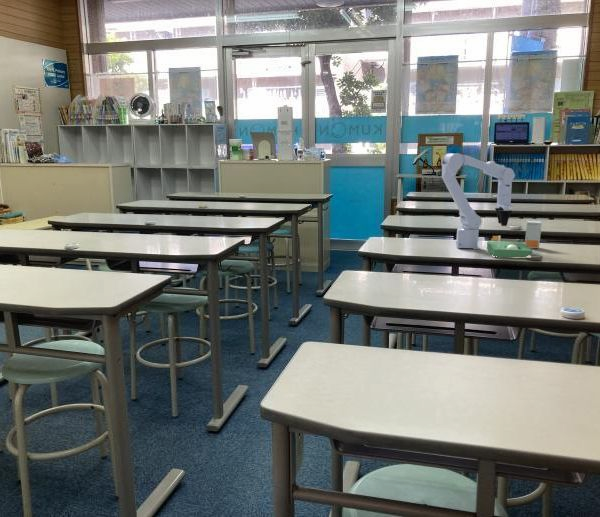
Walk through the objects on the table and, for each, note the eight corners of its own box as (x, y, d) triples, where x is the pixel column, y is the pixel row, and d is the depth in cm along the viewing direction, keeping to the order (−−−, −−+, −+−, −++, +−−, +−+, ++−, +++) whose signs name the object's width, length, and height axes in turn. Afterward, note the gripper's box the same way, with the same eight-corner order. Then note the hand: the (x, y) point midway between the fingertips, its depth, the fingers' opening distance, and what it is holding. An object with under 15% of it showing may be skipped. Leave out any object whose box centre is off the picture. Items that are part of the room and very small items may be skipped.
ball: (507, 245, 224) (509, 240, 228) (502, 255, 227) (505, 250, 230) (519, 250, 222) (521, 245, 226) (514, 260, 225) (516, 255, 229)
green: (491, 257, 224) (493, 236, 222) (485, 248, 243) (486, 228, 242) (531, 259, 221) (533, 237, 219) (521, 249, 240) (523, 229, 239)
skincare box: (524, 248, 245) (526, 221, 242) (525, 246, 248) (527, 220, 246) (538, 249, 242) (541, 222, 239) (539, 247, 246) (541, 221, 243)
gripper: (516, 196, 234) (514, 227, 237) (510, 193, 248) (508, 222, 251) (499, 196, 236) (497, 226, 238) (494, 193, 249) (493, 222, 252)
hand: (502, 224), depth 245 cm, fingers open, 7 cm apart
